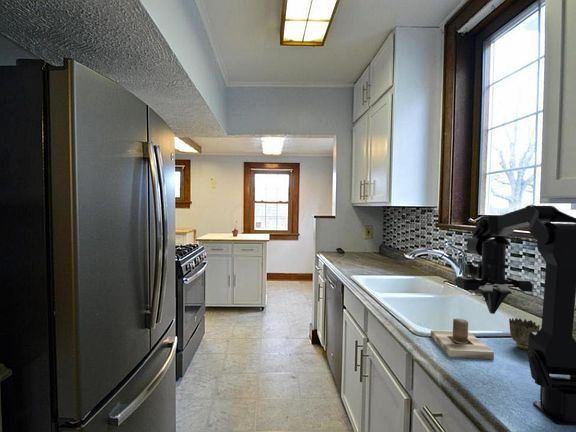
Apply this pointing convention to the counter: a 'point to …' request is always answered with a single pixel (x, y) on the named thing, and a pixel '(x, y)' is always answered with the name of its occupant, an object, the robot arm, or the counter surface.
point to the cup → (522, 331)
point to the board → (462, 346)
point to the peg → (460, 331)
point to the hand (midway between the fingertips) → (491, 313)
